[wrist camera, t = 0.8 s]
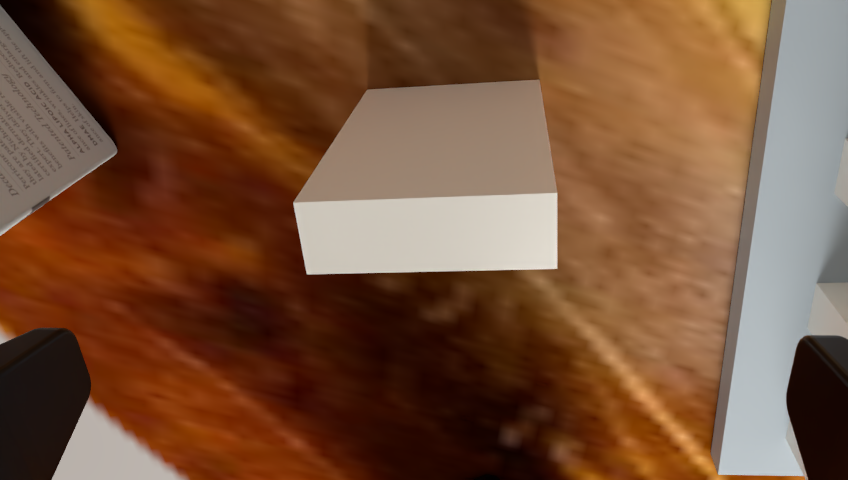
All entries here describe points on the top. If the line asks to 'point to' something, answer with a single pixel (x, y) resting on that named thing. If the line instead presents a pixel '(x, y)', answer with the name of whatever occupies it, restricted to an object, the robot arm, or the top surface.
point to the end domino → (434, 184)
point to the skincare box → (40, 130)
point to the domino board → (784, 231)
